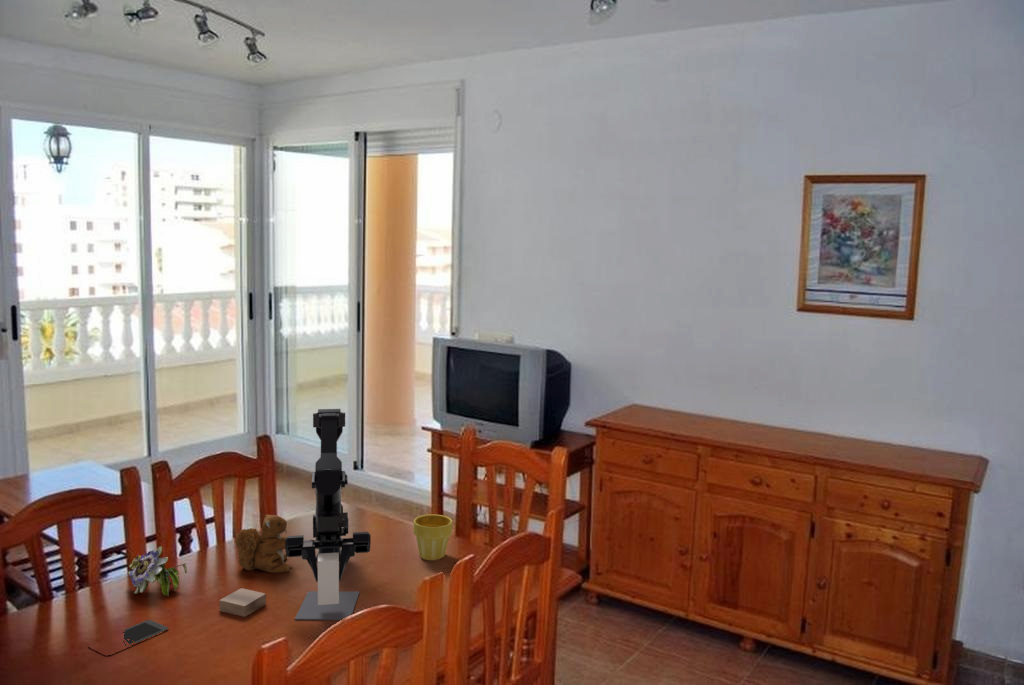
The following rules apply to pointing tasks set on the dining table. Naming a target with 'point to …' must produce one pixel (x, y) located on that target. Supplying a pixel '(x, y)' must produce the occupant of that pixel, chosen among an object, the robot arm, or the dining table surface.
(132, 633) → the cell phone
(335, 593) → the cream pillar
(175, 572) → the passion flower
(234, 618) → the dining table surface
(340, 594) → the charcoal mat
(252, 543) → the stuffed squirrel
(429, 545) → the plant pot
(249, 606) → the grey square slab
